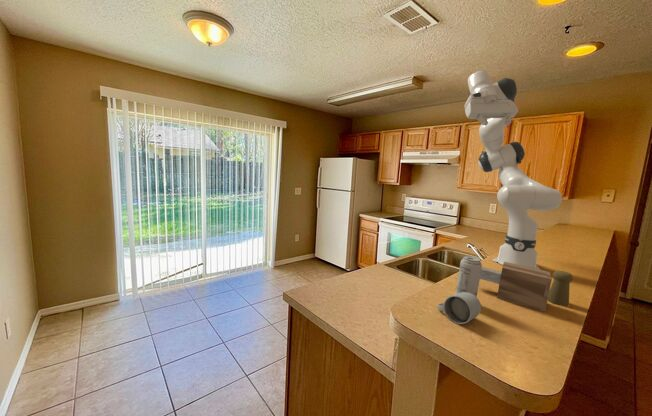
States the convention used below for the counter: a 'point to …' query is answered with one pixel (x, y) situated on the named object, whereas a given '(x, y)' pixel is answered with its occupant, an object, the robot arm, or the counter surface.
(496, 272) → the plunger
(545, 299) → the block
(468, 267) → the energy drink can
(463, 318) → the ceramic mug
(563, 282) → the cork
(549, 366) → the counter surface
